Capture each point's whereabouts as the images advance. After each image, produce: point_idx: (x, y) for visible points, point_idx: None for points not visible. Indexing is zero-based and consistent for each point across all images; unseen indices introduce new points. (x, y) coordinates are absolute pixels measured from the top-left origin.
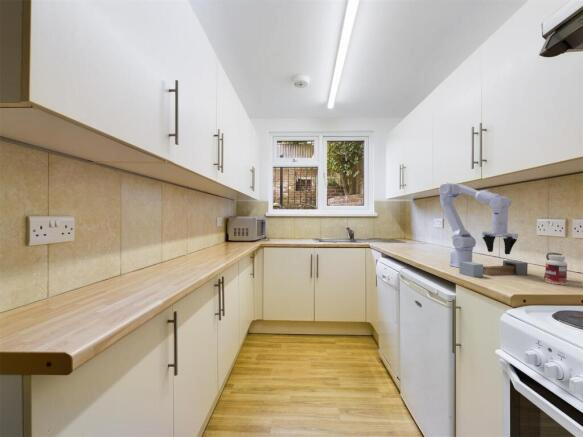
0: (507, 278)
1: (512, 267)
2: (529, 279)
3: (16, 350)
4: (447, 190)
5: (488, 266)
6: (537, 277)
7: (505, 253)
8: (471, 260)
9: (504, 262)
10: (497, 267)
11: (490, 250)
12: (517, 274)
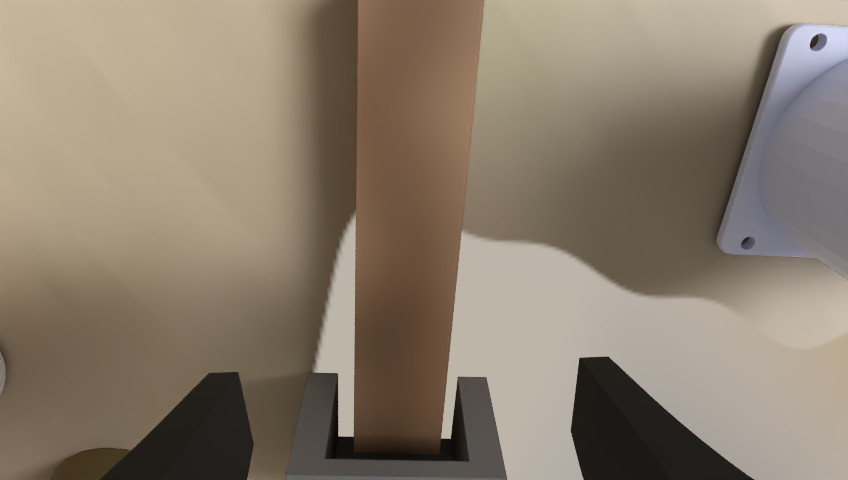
0: (151, 69)
1: (354, 407)
2: (94, 275)
3: None
4: None
5: (458, 137)
6: None
7: (219, 378)
8: (823, 226)
9: (481, 459)
10: (363, 198)
11: (585, 403)
12: (320, 374)
